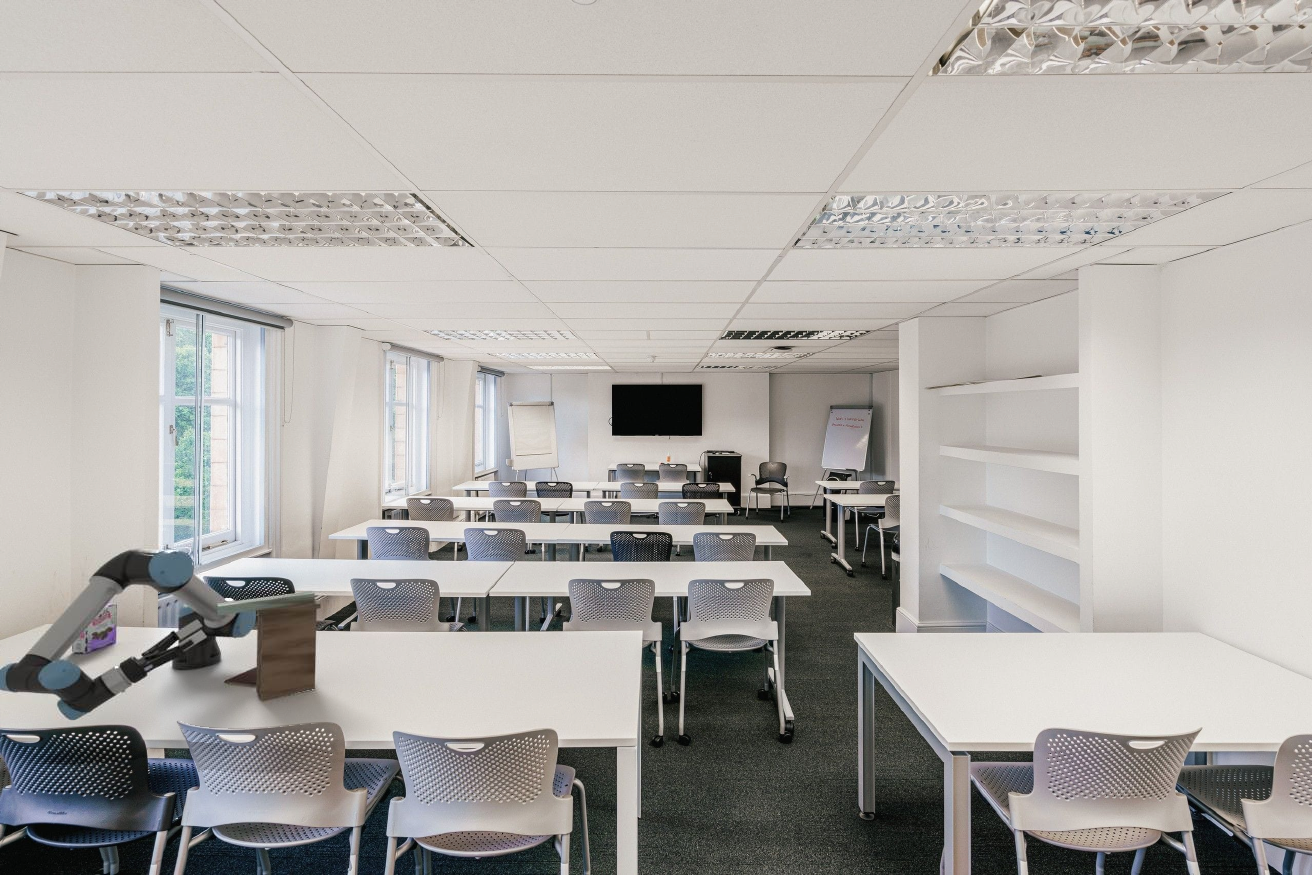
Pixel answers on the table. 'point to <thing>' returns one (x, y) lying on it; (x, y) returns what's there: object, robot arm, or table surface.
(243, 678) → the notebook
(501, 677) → the table surface
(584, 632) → the table surface
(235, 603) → the slat
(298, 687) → the stand
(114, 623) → the candy box
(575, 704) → the table surface
